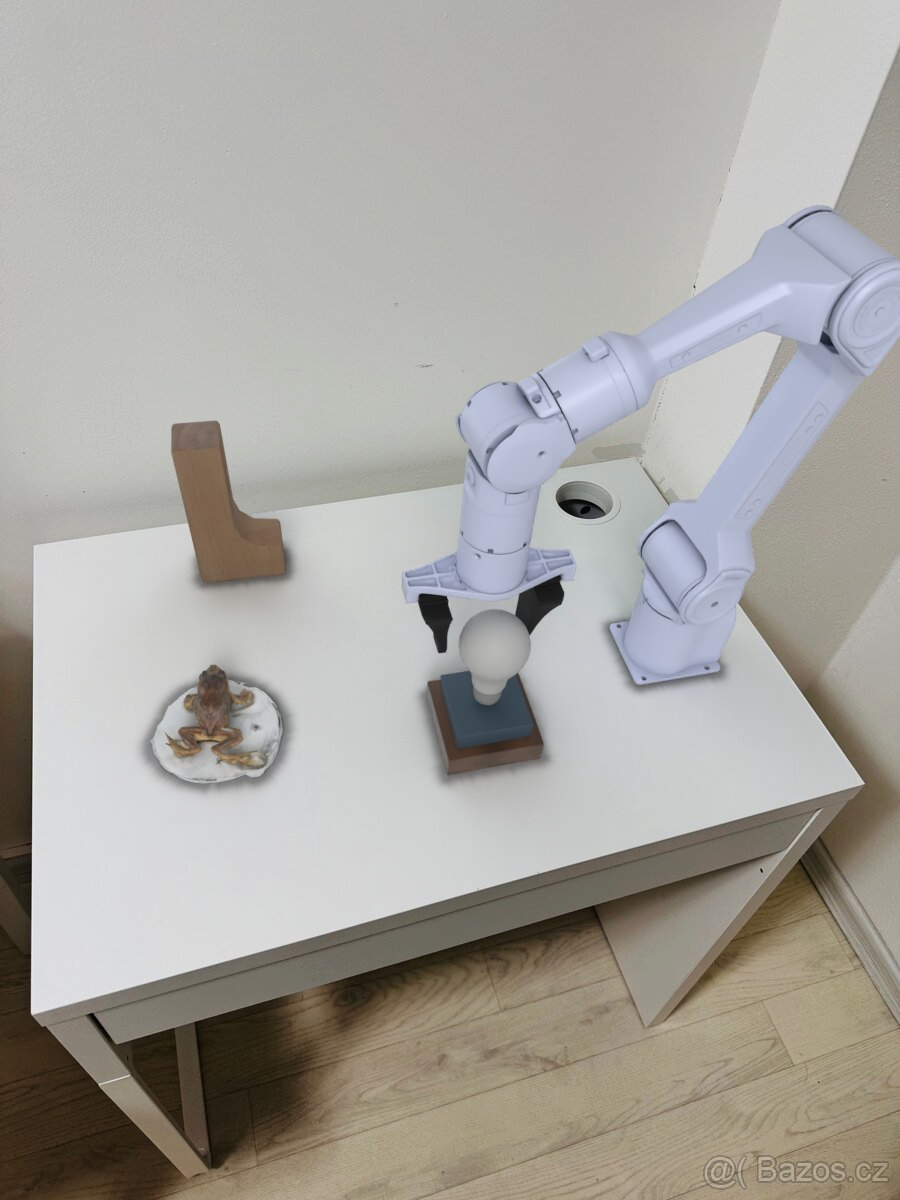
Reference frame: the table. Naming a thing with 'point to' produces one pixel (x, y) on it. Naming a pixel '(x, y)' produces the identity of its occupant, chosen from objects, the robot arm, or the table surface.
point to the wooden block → (220, 510)
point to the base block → (483, 753)
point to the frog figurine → (218, 731)
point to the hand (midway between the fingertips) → (480, 638)
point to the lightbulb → (493, 651)
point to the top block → (484, 712)
